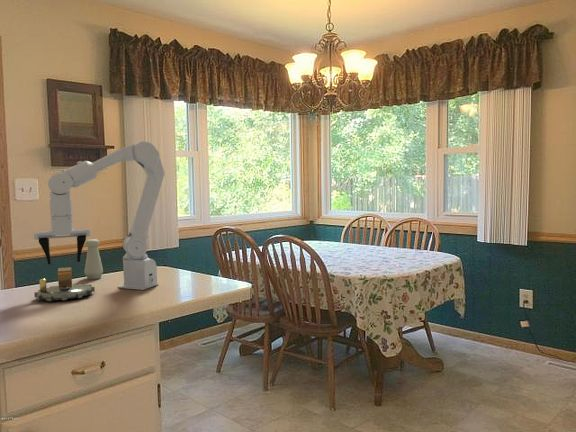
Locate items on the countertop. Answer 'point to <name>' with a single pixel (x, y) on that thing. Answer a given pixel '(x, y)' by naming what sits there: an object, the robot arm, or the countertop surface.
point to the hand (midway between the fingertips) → (64, 262)
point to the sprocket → (62, 291)
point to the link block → (64, 277)
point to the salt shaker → (93, 260)
